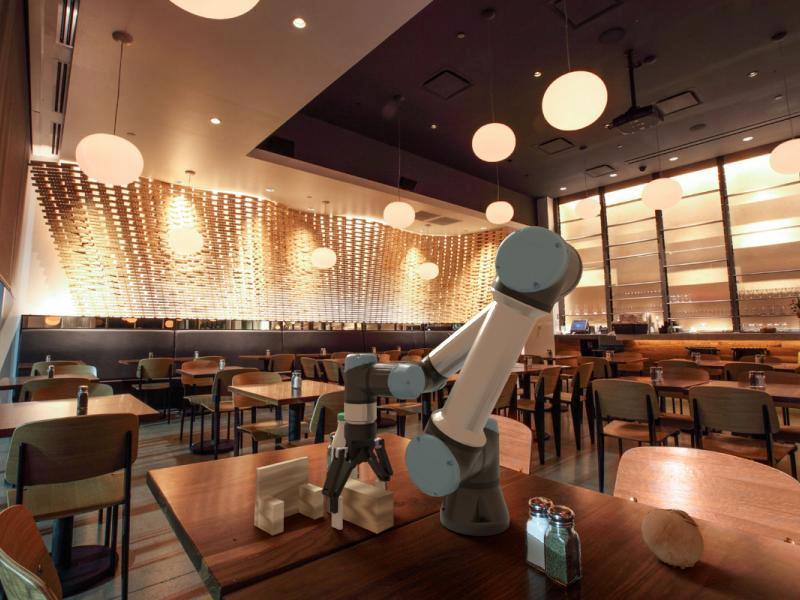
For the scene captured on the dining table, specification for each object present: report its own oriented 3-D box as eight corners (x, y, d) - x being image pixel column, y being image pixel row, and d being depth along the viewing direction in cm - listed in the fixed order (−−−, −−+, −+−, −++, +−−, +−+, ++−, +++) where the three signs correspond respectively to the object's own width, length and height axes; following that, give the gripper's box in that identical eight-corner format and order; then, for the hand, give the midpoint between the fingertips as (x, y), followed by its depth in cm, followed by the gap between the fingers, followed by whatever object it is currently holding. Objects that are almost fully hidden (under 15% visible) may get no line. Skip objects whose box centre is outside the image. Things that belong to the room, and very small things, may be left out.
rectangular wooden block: (393, 525, 90) (393, 485, 91) (377, 533, 87) (377, 491, 88) (343, 505, 102) (343, 470, 102) (326, 512, 98) (327, 475, 99)
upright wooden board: (323, 516, 96) (324, 462, 97) (272, 535, 86) (274, 475, 87) (304, 507, 100) (305, 456, 102) (254, 525, 91) (255, 468, 92)
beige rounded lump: (693, 578, 75) (717, 527, 75) (684, 584, 69) (710, 529, 69) (638, 541, 82) (660, 494, 82) (626, 544, 76) (649, 493, 76)
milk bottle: (354, 494, 109) (354, 416, 111) (326, 492, 111) (327, 415, 113) (362, 484, 117) (363, 411, 119) (336, 482, 118) (337, 410, 121)
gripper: (385, 412, 108) (385, 498, 105) (306, 426, 89) (304, 531, 87) (407, 415, 103) (407, 506, 100) (328, 431, 84) (326, 542, 82)
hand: (359, 518), depth 94 cm, fingers open, 12 cm apart
